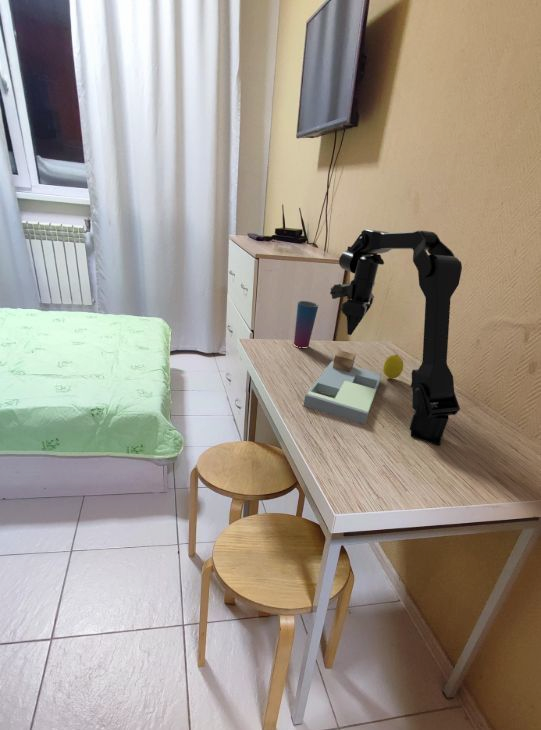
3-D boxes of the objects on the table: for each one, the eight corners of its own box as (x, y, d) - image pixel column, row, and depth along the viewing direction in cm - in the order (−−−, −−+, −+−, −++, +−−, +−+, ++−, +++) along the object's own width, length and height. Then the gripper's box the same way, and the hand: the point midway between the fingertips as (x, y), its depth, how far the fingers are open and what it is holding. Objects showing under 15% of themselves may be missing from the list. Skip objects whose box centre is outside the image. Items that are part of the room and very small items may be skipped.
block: (352, 366, 112) (355, 354, 111) (349, 372, 108) (352, 359, 106) (336, 362, 114) (339, 350, 112) (332, 367, 109) (335, 355, 108)
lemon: (396, 376, 116) (403, 352, 113) (400, 384, 111) (408, 359, 108) (379, 373, 116) (385, 349, 113) (382, 381, 111) (389, 356, 108)
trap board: (379, 381, 111) (382, 372, 110) (364, 424, 88) (367, 413, 86) (330, 368, 115) (332, 359, 114) (303, 405, 92) (305, 394, 91)
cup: (287, 342, 131) (294, 300, 125) (304, 342, 134) (311, 300, 128) (297, 350, 126) (304, 306, 120) (314, 349, 129) (322, 306, 123)
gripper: (343, 268, 116) (333, 316, 122) (328, 276, 99) (317, 332, 106) (379, 275, 112) (367, 324, 119) (370, 285, 96) (357, 342, 103)
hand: (352, 330), depth 112 cm, fingers open, 9 cm apart
